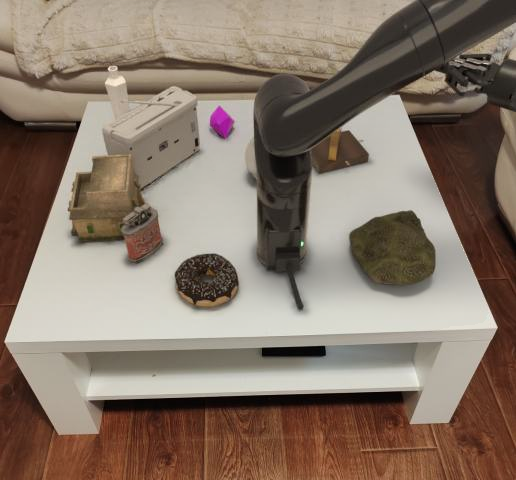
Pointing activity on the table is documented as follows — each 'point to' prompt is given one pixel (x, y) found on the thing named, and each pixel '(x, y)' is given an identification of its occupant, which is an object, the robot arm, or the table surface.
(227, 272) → the donut
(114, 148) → the radio
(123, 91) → the perfume bottle
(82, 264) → the table surface
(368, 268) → the decorative rock
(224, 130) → the crystal
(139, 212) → the lighter
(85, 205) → the miniature house
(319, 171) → the panel
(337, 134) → the tan wooden flat block
